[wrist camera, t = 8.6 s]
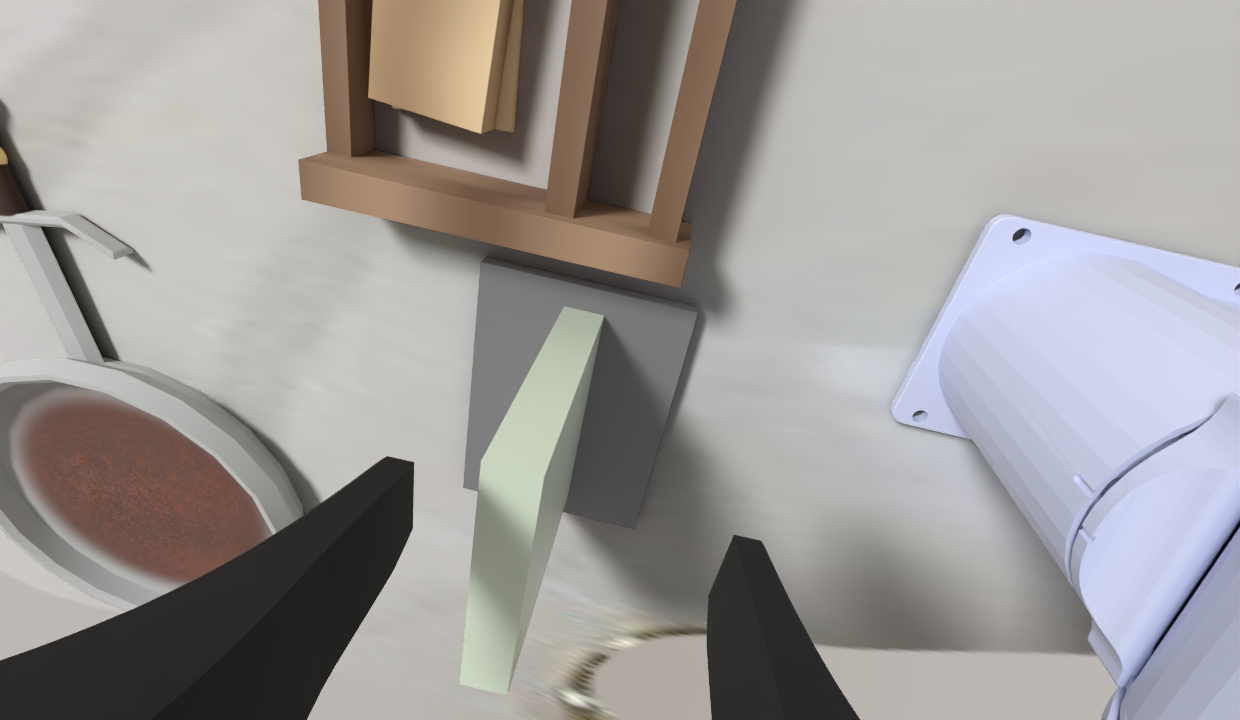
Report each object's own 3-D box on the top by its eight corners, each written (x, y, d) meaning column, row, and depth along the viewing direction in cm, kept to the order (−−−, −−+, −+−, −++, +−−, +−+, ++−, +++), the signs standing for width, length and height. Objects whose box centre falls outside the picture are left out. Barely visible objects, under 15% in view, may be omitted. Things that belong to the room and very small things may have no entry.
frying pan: (131, 77, 18) (323, 657, 31) (203, 75, 20) (353, 611, 33) (-326, 59, 19) (41, 617, 32) (-205, 59, 22) (89, 576, 35)
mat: (698, 306, 21) (697, 312, 20) (636, 519, 26) (634, 528, 26) (486, 256, 21) (480, 261, 21) (468, 479, 26) (463, 487, 26)
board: (604, 315, 21) (544, 476, 13) (567, 495, 25) (506, 695, 18) (564, 306, 21) (480, 461, 13) (534, 487, 25) (459, 683, 18)
